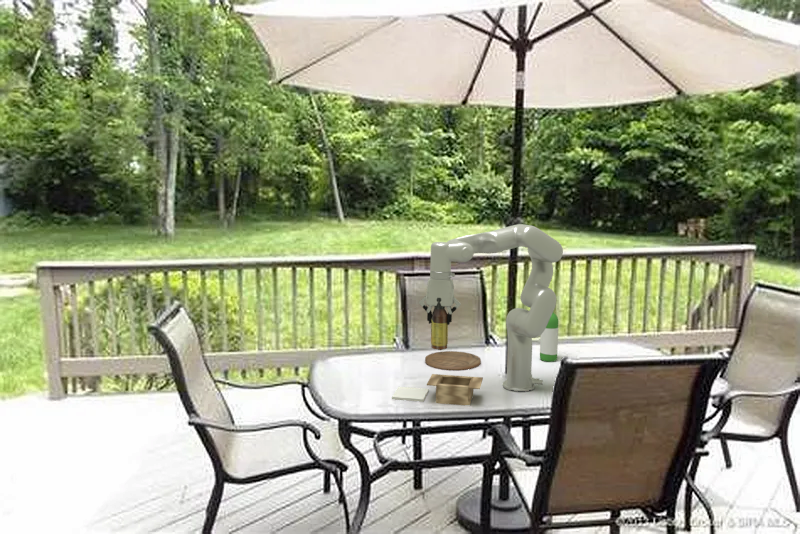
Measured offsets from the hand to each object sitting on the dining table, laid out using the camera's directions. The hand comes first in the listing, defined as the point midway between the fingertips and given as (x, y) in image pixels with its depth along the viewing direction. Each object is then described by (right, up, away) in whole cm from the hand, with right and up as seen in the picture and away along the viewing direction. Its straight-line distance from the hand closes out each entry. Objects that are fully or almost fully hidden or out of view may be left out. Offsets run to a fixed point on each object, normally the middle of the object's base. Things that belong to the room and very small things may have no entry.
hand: (439, 323), depth 239 cm
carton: (+6, -29, +3) cm, 30 cm away
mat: (-11, -28, +7) cm, 31 cm away
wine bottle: (+53, -22, +54) cm, 79 cm away
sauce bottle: (0, -10, +1) cm, 10 cm away
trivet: (+9, -23, +50) cm, 56 cm away
